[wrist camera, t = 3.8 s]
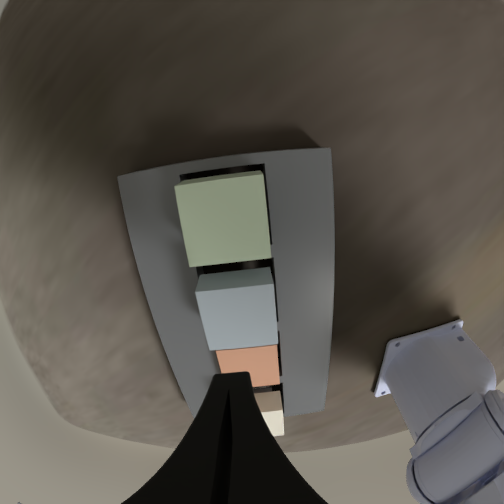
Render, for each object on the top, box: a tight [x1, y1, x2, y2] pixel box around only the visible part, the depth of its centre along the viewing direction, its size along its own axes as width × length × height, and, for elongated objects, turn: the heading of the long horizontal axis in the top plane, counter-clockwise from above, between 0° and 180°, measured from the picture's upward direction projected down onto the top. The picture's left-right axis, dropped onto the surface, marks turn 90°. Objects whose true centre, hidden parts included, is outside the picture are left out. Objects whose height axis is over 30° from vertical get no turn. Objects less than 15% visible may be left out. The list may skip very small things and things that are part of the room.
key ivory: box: [253, 387, 284, 436], centre depth 20 cm, size 4×4×3 cm
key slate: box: [195, 267, 278, 350], centre depth 16 cm, size 4×4×3 cm
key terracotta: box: [216, 344, 280, 387], centre depth 20 cm, size 4×4×3 cm
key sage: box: [174, 170, 271, 267], centre depth 14 cm, size 4×4×3 cm
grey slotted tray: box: [117, 147, 335, 419], centre depth 19 cm, size 12×22×2 cm, turn 6°
